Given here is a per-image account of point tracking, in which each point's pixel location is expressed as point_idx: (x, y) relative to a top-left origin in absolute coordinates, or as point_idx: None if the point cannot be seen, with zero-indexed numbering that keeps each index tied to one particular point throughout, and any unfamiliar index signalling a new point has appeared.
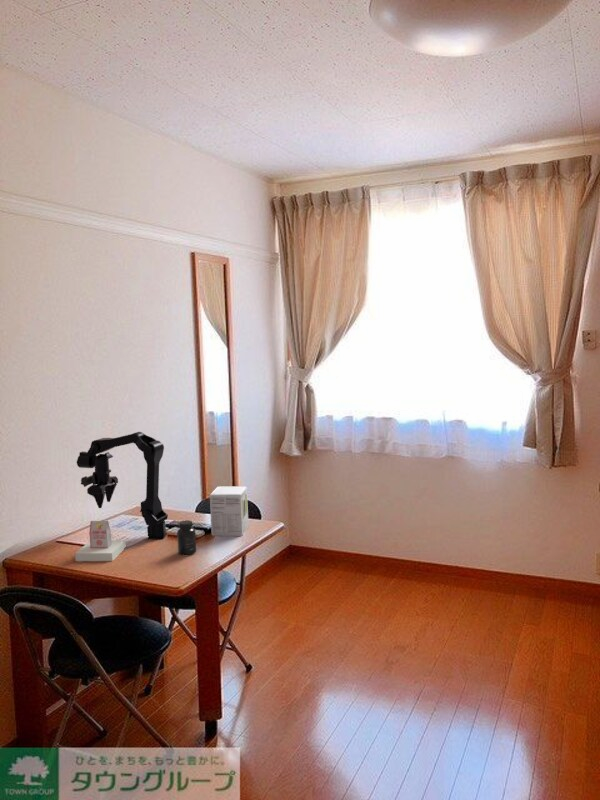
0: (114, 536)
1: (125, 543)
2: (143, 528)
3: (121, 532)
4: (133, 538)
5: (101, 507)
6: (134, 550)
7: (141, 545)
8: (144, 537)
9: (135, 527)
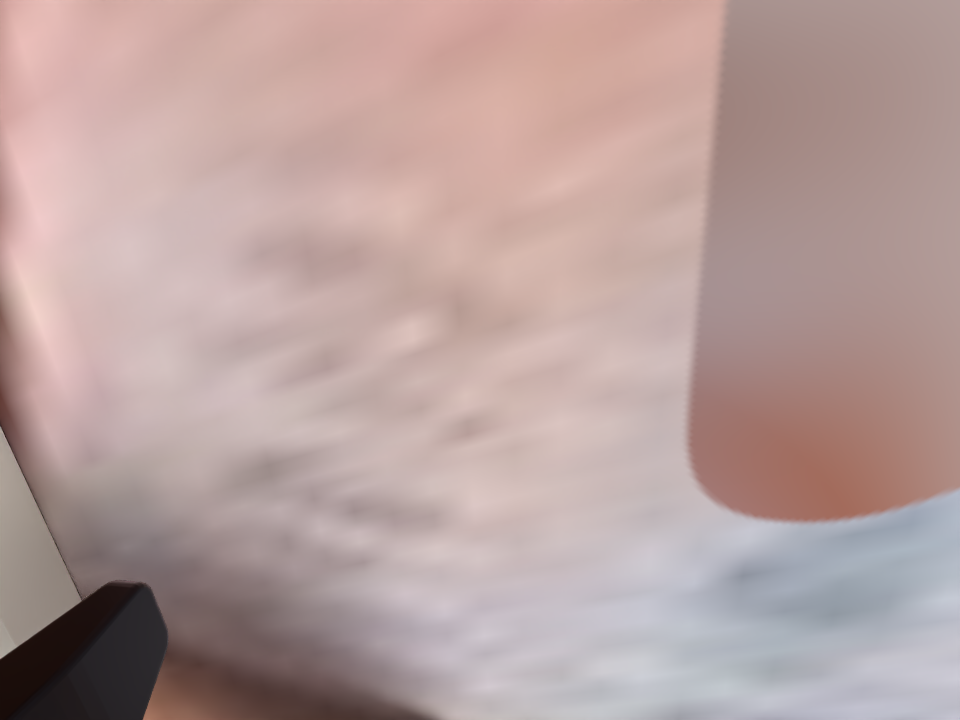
0: (411, 393)
1: None
2: (769, 650)
3: (601, 435)
4: (367, 616)
5: (147, 657)
6: None
7: (184, 709)
8: (415, 701)
9: (839, 556)
